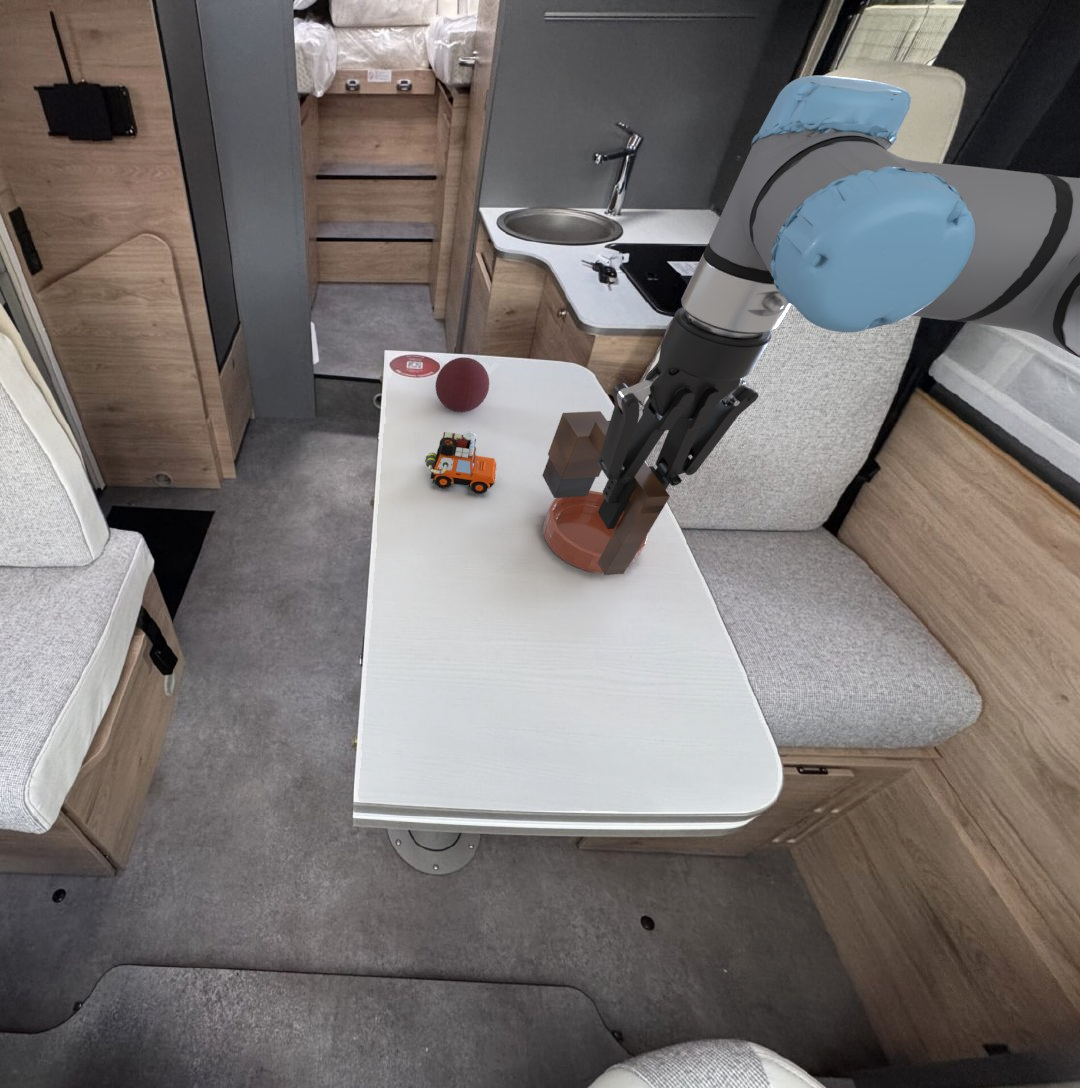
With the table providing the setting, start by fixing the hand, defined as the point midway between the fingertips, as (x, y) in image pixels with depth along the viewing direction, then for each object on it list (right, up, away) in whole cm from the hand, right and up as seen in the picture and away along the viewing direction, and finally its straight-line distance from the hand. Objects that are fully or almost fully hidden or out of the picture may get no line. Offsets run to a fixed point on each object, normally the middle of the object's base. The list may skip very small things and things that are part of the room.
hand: (618, 519), depth 65 cm
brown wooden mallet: (-1, 0, +8) cm, 8 cm away
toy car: (-12, +8, +33) cm, 36 cm away
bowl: (+6, -2, +24) cm, 25 cm away
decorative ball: (-10, +24, +47) cm, 54 cm away
